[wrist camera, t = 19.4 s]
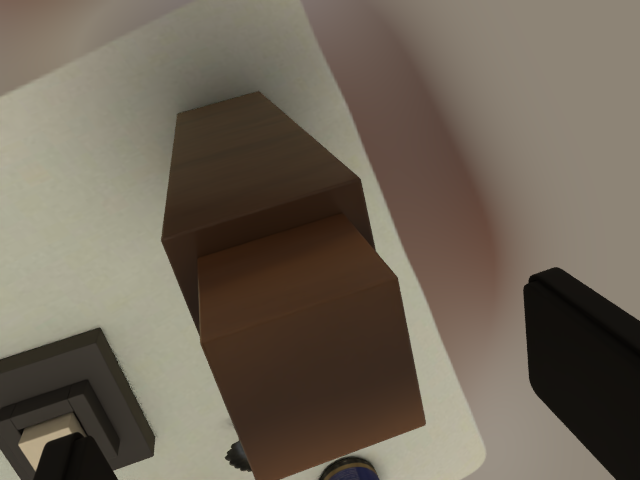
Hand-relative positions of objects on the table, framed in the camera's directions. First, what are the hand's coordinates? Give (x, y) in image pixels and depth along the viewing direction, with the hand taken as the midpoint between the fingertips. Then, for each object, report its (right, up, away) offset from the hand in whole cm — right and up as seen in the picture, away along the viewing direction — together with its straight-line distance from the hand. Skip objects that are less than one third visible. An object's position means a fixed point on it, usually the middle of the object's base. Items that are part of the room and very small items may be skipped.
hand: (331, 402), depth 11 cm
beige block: (-20, -12, +29) cm, 37 cm away
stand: (-7, +10, +27) cm, 30 cm away
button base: (-21, -10, +32) cm, 39 cm away
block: (-1, +2, +5) cm, 6 cm away
